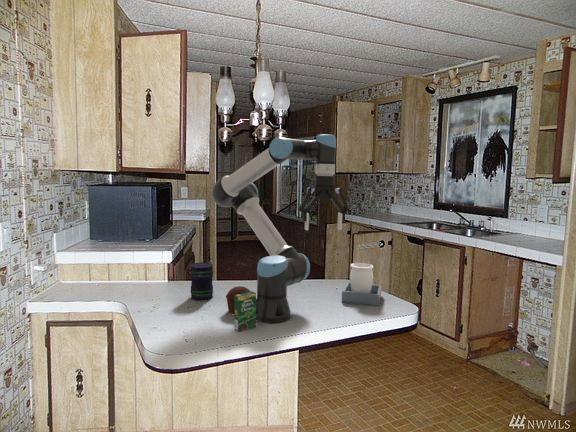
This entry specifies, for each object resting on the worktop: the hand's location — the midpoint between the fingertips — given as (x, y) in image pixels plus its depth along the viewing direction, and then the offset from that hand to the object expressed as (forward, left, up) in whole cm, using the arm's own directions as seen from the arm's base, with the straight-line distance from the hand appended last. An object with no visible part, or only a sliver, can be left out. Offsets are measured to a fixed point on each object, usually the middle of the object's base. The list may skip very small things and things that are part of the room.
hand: (323, 229), depth 161 cm
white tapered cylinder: (+13, +28, -34) cm, 46 cm away
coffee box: (-23, -23, -35) cm, 48 cm away
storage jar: (-55, +4, -35) cm, 65 cm away
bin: (+14, +28, -35) cm, 46 cm away
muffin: (-32, -7, -35) cm, 48 cm away
